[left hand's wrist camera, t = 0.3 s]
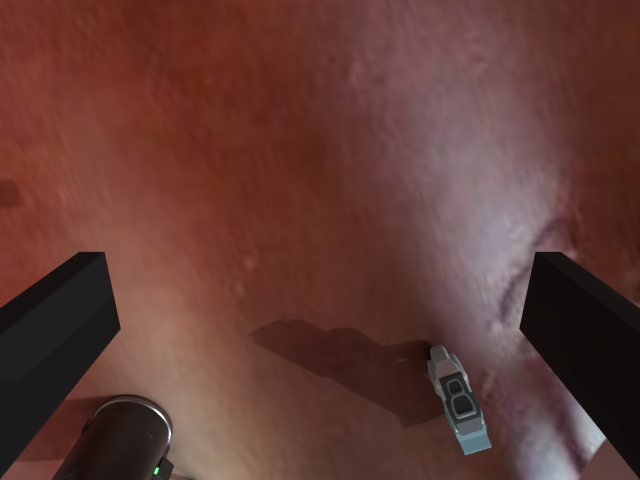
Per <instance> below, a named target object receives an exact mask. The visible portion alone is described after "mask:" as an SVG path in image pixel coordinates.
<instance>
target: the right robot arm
mask: <svg viewBox="0 0 640 480" xmlns="http://www.w3.org/2000/svg"><path fill="white" fill-rule="evenodd" d="M89 419H90V418H89ZM88 423H89V420H88V421H87V423H86V424H85V426H84V427H83V430H82V433H81V437H80V438H79V440H78V441H77V443H76V444H75V445H74V447H73V448H72V450H71V451H70V453H69V454H68V456H67V457H66V459H65V460H64V462H63V463H62V465H61V466H60V468H59V469H58V471H57V472H56V474H55V475H54V477H53V478H52V480H169V478H170V476H171V473H172V470H173V468H174V465H173V464H172V463H171V462H170V461H168V460H167V459H166V456H167V454H168V451H169V449H170V447H169V444H168V443H169V441H170V439H171V436H172V431H173V428H172V423H171V420H170V418H169V416H168V415H167V413H166V412H165V411H164V410H163V409H162V408H161V407H160V406H158V405H157V404H155V403H154V402H152V401H150V400H147V399H145V398H141V397H137V396H118V397H114V398H112V399H109V400H107V401H106V402H104V403H103V404H102V405H101V406H100V407H99V409H98V410H97V412H96V413H95V415H94V417H93V419H92V421H91V422H90V424H89V425H88ZM87 426H88V427H87Z"/></svg>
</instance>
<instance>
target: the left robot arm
mask: <svg viewBox="0 0 640 480" xmlns="http://www.w3.org/2000/svg"><path fill="white" fill-rule="evenodd" d="M120 329H121V328H120V323H119V318H118V313H117V309H116V304H115V299H114V295H113V290H112V285H111V280H110V276H109V271H108V266H107V262H106V257H105V252H78V253H77V254H76V255H74V256H73V257H71V258H70V259H69V260H67V261H66V262H64V263H63V264H62V265H60V266H59V267H57V268H56V269H55V270H53V271H52V272H50V273H49V274H48V275H46V276H45V277H43V278H42V279H41V280H39V281H38V282H36V283H35V284H34V285H32V286H31V287H29V288H28V289H27V290H25V291H24V292H22V293H21V294H20V295H18V296H17V297H15V298H14V299H12V300H11V301H10V302H8V303H7V304H5V305H4V306H3V307H1V308H0V479H1V478H2V476H3V475H4V474H5V473H6V471H7V470H8V469H9V468H10V466H11V465H12V464H13V463H14V461H15V460H16V459H17V458H18V456H19V455H20V454H21V453H22V451H23V450H24V449H25V448H26V446H27V445H28V444H29V443H30V441H31V440H32V439H33V438H34V436H35V435H36V434H37V433H38V431H39V430H40V429H41V428H42V426H43V425H44V424H45V423H46V422H47V420H48V419H49V418H50V417H51V415H52V414H53V413H54V412H55V410H56V409H57V408H58V407H59V405H60V404H61V403H62V402H63V400H64V399H65V398H66V397H67V395H68V394H69V393H70V392H71V390H72V389H73V388H74V387H75V385H76V384H77V383H78V382H79V380H80V379H81V378H82V377H83V375H84V374H85V373H86V372H87V370H88V369H89V368H90V367H91V365H92V364H93V363H94V362H95V360H96V359H97V358H98V357H99V355H100V354H101V353H102V352H103V350H104V349H105V348H106V347H107V345H108V344H109V343H110V342H111V340H112V339H113V338H114V337H115V335H116V334H117V333H118V332H119V330H120ZM519 329H520V330H521V332H522V333H523V334H524V335H525V337H526V338H527V339H528V340H529V342H530V343H531V344H532V345H533V347H534V348H535V349H536V350H537V352H538V353H539V354H540V355H541V357H542V358H543V359H544V360H545V362H546V363H547V364H548V365H549V367H550V368H551V369H552V370H553V372H554V373H555V374H556V375H557V377H558V378H559V379H560V380H561V382H562V383H563V384H564V385H565V387H566V388H567V389H568V390H569V392H570V393H571V394H572V395H573V397H574V398H575V399H576V400H577V402H578V403H579V404H580V405H581V407H582V408H583V409H584V410H585V412H586V413H587V414H588V415H589V417H590V418H591V419H592V420H593V422H594V423H595V424H596V425H597V427H598V428H599V429H600V430H601V431H602V433H603V434H604V435H605V436H606V438H607V439H608V440H609V441H610V443H611V444H612V445H613V446H614V448H615V449H616V450H617V451H618V453H619V454H620V455H621V456H622V458H623V459H624V460H625V461H626V463H627V464H628V465H629V466H630V468H631V469H632V470H633V471H634V473H635V474H636V475H637V476H638V478H639V479H640V308H639V307H637V306H636V305H635V304H633V303H632V302H630V301H629V300H628V299H626V298H625V297H623V296H622V295H620V294H619V293H618V292H616V291H615V290H613V289H612V288H611V287H609V286H608V285H606V284H605V283H604V282H602V281H601V280H599V279H598V278H597V277H595V276H594V275H592V274H591V273H590V272H588V271H587V270H585V269H584V268H583V267H581V266H580V265H578V264H577V263H576V262H574V261H573V260H571V259H570V258H569V257H567V256H566V255H564V254H563V253H562V252H535V257H534V262H533V266H532V271H531V276H530V280H529V285H528V290H527V295H526V299H525V304H524V309H523V313H522V318H521V323H520V328H519Z"/></svg>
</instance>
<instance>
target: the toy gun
mask: <svg viewBox="0 0 640 480" xmlns="http://www.w3.org/2000/svg"><path fill="white" fill-rule="evenodd" d="M430 354H431V360H429V361H427V365H428V373H429V376H430V378H431V381H432V383H433V386H434V389H435V391H436V393H437V394H438V395H439V396H440V397H441V399H442V402H443V404H444V408H443V409H444V411H445V414H446V416H447V419H448V421H449V424H450V425H451V427H452V429H453V431H454V433H455V434H456V436H457V438H458V440H459V442H460V444H461V446H462V449H463V451H464V453H465V455H467V454H471V453H474V452H477V451H480V450H484V449H487V448H490V447H491V444H490V441H489V439H488V436H487V433H486V424H485V422H484V419H483V413H482V410H481V408H480V405H479V403H478V401H477V398H476V397H475V394H474V392H472V391H471V389H470V386H469V381H468V377H467V374H466V373H465V371H464V369H463V367H462V365H461V363H460V361H459V360H458V359H457V358H456V356H455V355H454V354H453V352H452V353H449V354H448V353H447V351H446V350H445V348H444V347H443V346H441V345H436V346H433V347H432V348H431V350H430Z"/></svg>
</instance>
